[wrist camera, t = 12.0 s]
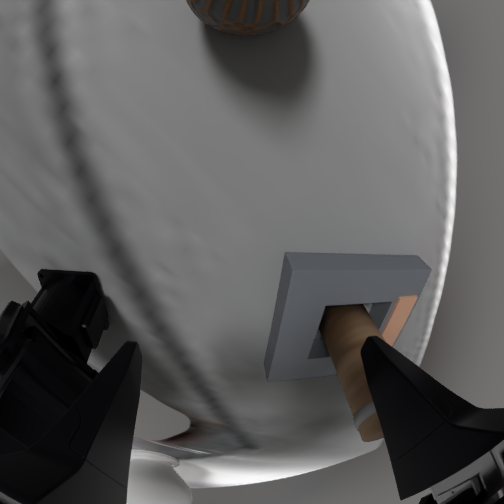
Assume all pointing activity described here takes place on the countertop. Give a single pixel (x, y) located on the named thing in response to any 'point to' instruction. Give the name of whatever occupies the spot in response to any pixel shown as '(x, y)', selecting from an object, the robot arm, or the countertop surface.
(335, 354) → the walnut peg
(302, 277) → the socket block
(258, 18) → the vase
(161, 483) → the decorative vase
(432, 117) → the countertop surface
